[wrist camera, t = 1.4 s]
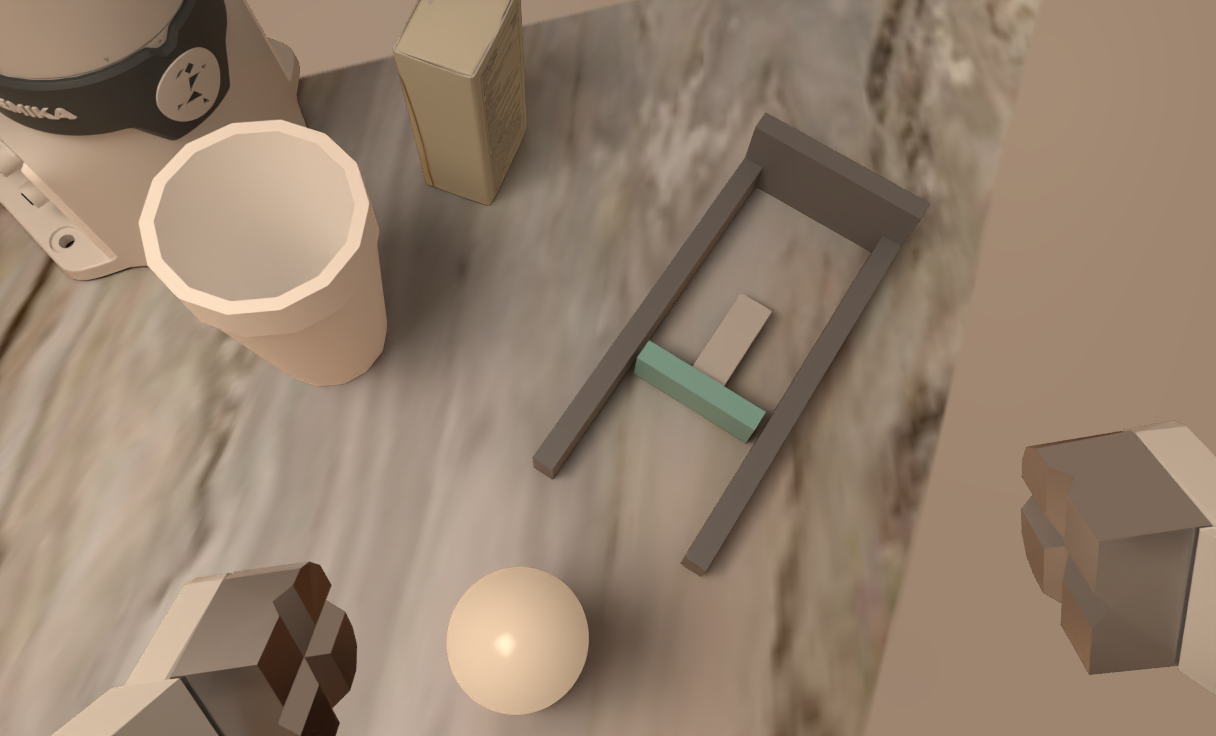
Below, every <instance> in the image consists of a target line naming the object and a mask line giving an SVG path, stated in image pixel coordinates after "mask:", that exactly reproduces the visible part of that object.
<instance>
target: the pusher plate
mask: <svg viewBox="0 0 1216 736" xmlns="http://www.w3.org/2000/svg"><path fill="white" fill-rule="evenodd" d="M771 312H772V311H771V310H769V309H767V308H766V307H764V306H762V305H761V304H759V303H757V302H756V301H754V300H752V299H751V298H749V297H747V296H746V295H744V294H742V293H741V294H740V295H739V297H738V298H737V300H736V301H735V303H734V304H733V306H732V307H731V309H730V310H729V312H728V313H727V315H726V316H725V318H724V319H723V321H722V322H721V324H720V326H719V327H718V329H717V330H716V332H715V333H714V335H713V336H712V338H711V339H710V341H709V342H708V344H707V345H706V347H705V348H704V350H703V351H702V353H701V354H700V356H699V357H698V359H697V360H696V362H695V363H694V365H693V366H690V365H689V364H687V363H685V362H684V361H682V360H680V359H679V358H677V357H676V356H674V355H672V354H671V353H669V352H667V351H666V350H664V349H663V348H661V347H659V346H658V345H656V344H654V343H653V342H651V341H650V340H649V341H648V343H647V344H646V346H645V347H644V348H643V350H642V351H641V353H640V354H639V356H638V357H637V361H636V365H635V370H634V374H635V375H637V376H639V377H640V378H642V379H643V380H645V381H647V382H648V383H650V384H651V385H653V386H655V387H656V388H658V389H660V390H661V391H663V392H664V393H666V394H668V395H669V396H671V397H672V398H674V399H676V400H677V401H679V402H680V403H682V404H684V405H685V406H687V407H688V408H690V409H692V410H693V411H695V412H696V413H698V414H700V415H701V416H703V417H704V418H706V419H708V420H709V421H711V422H712V423H714V424H716V425H717V426H719V427H720V428H722V429H724V430H725V431H727V432H728V433H730V434H732V435H733V436H735V437H736V438H738V439H740V440H741V441H743V442H745V443H746V442H747V440H748V439H749V438H750V436H751V435H752V433H753V432H754V430H755V429H756V427H757V426H758V424H759V422H760V421H761V419H762V417H763V416H764V414H765V413H766V412H765V411H763V410H762V409H760V408H759V407H757V406H755V405H754V404H752V403H750V402H749V401H747V400H746V399H744V398H742V397H741V396H739V395H737V394H736V393H734V392H733V391H731V390H729V389H728V388H726V387H725V385H726V383H727V382H728V380H729V379H730V377H731V376H732V374H733V373H734V371H735V369H736V368H737V366H738V365H739V363H740V362H741V360H742V359H743V357H744V355H745V354H746V352H747V351H748V349H749V348H750V346H751V345H752V343H753V342H754V340H755V338H756V337H757V335H758V334H759V332H760V331H761V329H762V328H763V326H764V324H765V323H766V321H767V320H768V318H769V316H770V314H771Z"/></svg>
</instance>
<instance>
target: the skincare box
mask: <svg viewBox="0 0 1216 736" xmlns="http://www.w3.org/2000/svg"><path fill="white" fill-rule="evenodd" d="M393 53H394V57H395V61H396V65H397V69H398V73H399V77H400V81H401V85H402V90H403V93H404V97H405V101H406V105H407V109H408V113H409V117H410V121H411V125H412V130H413V133H414V137H415V141H416V145H417V149H418V153H419V157H420V161H421V165H422V170H423V173H424V177H425V181H426V183H427V184H428V185H431V186H434V187H436V188H439V189H442V190H444V191H447V192H450V193H453V194H456V195H458V196H461V197H464V198H467V199H470V200H473V201H475V202H478V203H481V204H484V205H490V204H491V203H492V201H493V199H494V197H495V195H496V193H497V191H498V189H499V188H500V186H501V183H502V181H503V179H504V177H505V175H506V173H507V171H508V169H509V167H510V165H511V163H512V160H513V158H514V156H515V154H516V152H517V150H518V148H519V145H520V143H521V141H522V138H523V136H524V134H525V132H526V129H527V118H526V98H525V76H524V57H523V36H522V17H521V0H418V1H417V3H416V5H415V7H414V9H413V10H412V12H411V14H410V16H409V18H408V20H407V22H406V23H405V26H404V28H403V30H402V31H401V33H400V35H399V37H398V39H397V41H396V43H395V46H394V47H393Z"/></svg>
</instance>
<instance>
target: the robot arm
mask: <svg viewBox="0 0 1216 736" xmlns="http://www.w3.org/2000/svg"><path fill="white" fill-rule="evenodd" d="M299 74H300V67H299V62H298V60H297V58H296V56H295V55H294V53H293V51H292V50H291V48H289V47H288V46H287V45H285V44H283V43H281V42H278V41H275V40H273V39H270V38H267V37H266V35H265V33H264V31H263V30H262V28H261V26H260V24H259V23H258V21H257V19H256V17H255V16H254V14H253V12H252V11H251V9H250V7H249V5H248V4H247V2H246V0H0V203H1V204H2V205H3V206H4V207H5V208H6V209H7V211H8V212H9V213H10V214H11V215H12V216H13V217H14V218H15V219H16V220H17V221H18V223H19V224H20V225H21V226H22V227H23V228H24V229H25V230H26V231H27V232H28V233H29V235H30V236H31V237H32V238H33V239H34V240H35V241H36V242H37V243H38V244H39V245H40V247H41V248H42V249H43V250H44V251H45V252H46V253H47V254H48V255H49V256H50V257H51V259H52V260H53V261H54V262H55V263H56V264H57V265H58V266H59V267H60V268H61V270H62V271H63V272H64V273H65V274H66V275H68V276H69V277H71V278H72V279H75V280H90V279H95V278H98V277H102V276H105V275H108V274H111V273H114V272H117V271H120V270H123V269H126V268H129V267H136V266H148V265H147V261H146V256H145V251H144V247H143V242H142V237H141V232H140V227H139V223H138V222H139V219H140V216H141V213H142V210H143V207H144V204H145V201H146V198H147V195H148V192H149V189H150V186H151V183H152V180H153V178H154V177H155V176H156V175H157V174H158V173H159V172H160V171H161V170H162V169H163V168H164V167H165V166H166V165H167V164H168V163H169V162H170V161H171V160H172V159H173V157H174V156H175V155H176V154H177V153H178V152H179V151H180V150H181V149H182V148H183V147H184V146H185V145H186V144H188V143H190V142H192V141H194V140H196V139H199V138H201V137H203V136H205V135H207V134H209V133H212V132H214V131H216V130H218V129H220V128H223V127H225V126H227V125H229V124H231V123H242V122H256V121H269V120H284V121H287V122H290V123H293V124H296V125H300V126H303V127H306V124H305V121H304V118H303V116H302V113H301V111H300V108H299V105H298V101H297V89H298V83H299ZM306 128H307V127H306ZM71 241H75V242H74V244H73V245H72V246H71V247H69V248H65V247H66V245H67V244H68V243H69V242H71ZM1022 478H1023V480H1024V481H1025V483H1026V485H1027V486H1028V488H1029V490H1030V491H1031V493H1032V494H1033V495H1032V496H1031V498H1030V499H1029V500H1028V501H1027V502H1026V504H1025V505H1024V506H1023V507H1022V509H1021V517H1022V518H1021V520H1022V536H1023V540H1024V546H1025V551H1026V556H1027V559H1028V561H1029V564H1030V567H1031V569H1032V572H1033V574H1034V577H1035V578H1036V580H1037V582H1038V584H1039V586H1040V588H1041V590H1042V592H1043V593H1044V594H1046V595H1048V596H1049V597H1051V598H1053V599H1055V600H1057V601H1058V602H1060V603H1062V608H1061V626H1062V628H1063V630H1064V631H1065V633H1066V635H1067V636H1068V638H1069V640H1070V642H1071V643H1072V645H1073V647H1074V649H1075V651H1076V652H1077V654H1078V656H1079V658H1080V660H1081V661H1082V663H1083V665H1084V667H1085V668H1086V670H1087V672H1088V674H1089V675H1092V674H1102V673H1110V672H1121V671H1131V670H1140V669H1149V668H1160V667H1170V666H1179V668H1178V670H1179V671H1181V672H1182V673H1184V674H1185V675H1187V676H1188V677H1190V678H1191V679H1192V680H1194V681H1196V682H1197V683H1198V684H1200V685H1201V686H1203V687H1204V688H1206V689H1207V690H1208V691H1210V692H1211V693H1213V694H1214V695H1216V456H1215V455H1214V454H1213V453H1212V452H1211V451H1210V450H1209V449H1208V448H1207V447H1206V446H1205V445H1204V444H1203V443H1202V442H1201V441H1200V440H1199V439H1198V438H1197V437H1196V436H1195V435H1194V434H1193V433H1192V432H1191V431H1190V430H1189V428H1188V427H1187V426H1185V425H1184V424H1182V423H1180V422H1177V421H1174V420H1172V421H1168V422H1162V423H1156V424H1151V425H1145V426H1140V427H1134V428H1129V429H1124V430H1123V431H1120V432H1113V433H1107V434H1101V435H1095V436H1089V437H1083V438H1077V439H1071V440H1064V441H1058V442H1053V443H1047V444H1041V445H1034V446H1029V447H1026V449H1025V452H1024V455H1023V459H1022ZM330 588H331V583H330V581H329V580H328V578H327V576H326V574H325V573H324V571H323V569H322V567H321V566H320V565H319V564H315V563H312V562H303V563H296V564H288V565H281V566H274V567H266V568H259V569H252V570H244V571H237V572H233V573H227V574H220V575H213V576H206V577H199V578H195V579H194V580H192V581H190V582H189V583H187V584H185V585H184V587H183V588H182V590H181V592H180V593H179V595H178V597H177V598H176V600H175V602H174V603H173V605H172V607H171V608H170V610H169V612H168V613H167V615H166V617H165V618H164V620H163V622H162V623H161V625H160V627H159V628H158V630H157V632H156V633H155V635H154V637H153V638H152V640H151V642H150V643H149V645H148V647H147V649H146V650H145V652H144V654H143V655H142V657H141V659H140V660H139V662H138V664H137V665H136V667H135V669H134V670H133V672H132V674H131V675H130V677H129V679H128V680H127V682H126V684H125V685H124V686H121V687H115V688H111V689H110V690H108V691H107V692H106V693H105V694H103V695H102V696H101V697H100V698H98V699H97V700H96V701H95V702H93V703H92V704H91V705H89V706H88V707H87V708H86V709H84V710H83V711H82V712H81V713H79V714H78V715H77V716H75V717H74V718H73V719H72V720H70V721H69V722H68V723H67V724H65V725H64V726H63V727H62V728H60V729H59V730H58V731H56V732H55V733H54V734H53V735H51V736H336V733H337V730H338V727H339V724H340V722H339V720H338V718H337V716H336V714H335V712H334V710H333V707H334V706H335V705H336V704H337V703H338V702H339V701H340V700H341V699H342V698H343V697H344V696H345V695H346V694H347V693H348V692H349V691H350V689H351V686H352V683H353V679H354V676H355V673H356V664H357V643H356V639H355V635H354V631H353V627H352V625H351V622H350V620H349V618H348V616H347V614H346V612H345V611H343V610H342V609H340V608H338V607H337V606H335V605H333V604H332V603H330V602H329V601H327V600H326V599H327V596H328V594H329V591H330Z"/></svg>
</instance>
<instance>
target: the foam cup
mask: <svg viewBox="0 0 1216 736" xmlns="http://www.w3.org/2000/svg"><path fill="white" fill-rule="evenodd" d="M138 223H139V227H140V232H141V237H142V242H143V247H144V251H145V256H146V261H147V265H148V266H149V268H150V269H151V270H152V271H153V272H154V273H155V274H156V275H157V276H158V277H159V278H160V279H161V280H162V281H163V282H164V284H165V285H166V286H167V287H168V288H169V289H170V290H171V291H172V292H173V293H174V294H175V295H176V296H177V297H178V298H179V299H180V301H181V302H182V303H183V304H184V305H185V306H186V307H187V308H188V309H189V310H190V311H191V312H192V313H193V314H194V315H195V316H196V318H197V319H198V320H199V321H200V322H202V323H205V324H208V325H211V326H214V327H217V328H219V329H220V330H222V331H223V332H225V333H226V334H228V335H229V336H231V337H232V338H234V339H235V340H237V341H238V342H240V343H241V344H243V345H244V346H246V347H247V348H248V349H250V350H251V351H253V352H254V353H256V354H257V355H259V356H260V357H262V358H263V359H265V360H266V361H268V362H269V363H271V364H272V365H274V366H275V367H277V368H278V369H280V370H281V371H283V372H284V373H286V374H287V375H289V376H291V377H293V378H294V379H297V380H300V381H302V382H305V383H308V384H311V385H314V386H317V387H319V386H330V385H340V384H345V383H347V382H349V381H350V380H352V379H354V378H356V377H358V376H360V375H361V374H363V373H365V372H367V371H368V370H369V368H370V367H371V366H372V365H373V363H374V362H375V361H376V359H377V358H378V357H379V355H380V354H381V353H382V352H383V348H384V343H385V338H386V333H387V318H386V310H385V302H384V294H383V287H382V279H381V271H380V263H379V255H378V248H377V242H378V237H379V232H380V230H379V227H378V223H377V220H376V217H375V214H374V211H373V207H372V204H371V201H370V198H369V195H368V192H367V189H366V186H365V184H364V181H363V178H362V176H361V173H360V170H359V168H358V165H357V163H356V162H355V161H354V160H353V159H352V158H351V157H350V156H349V155H347V154H346V153H345V152H344V151H343V150H342V149H341V148H340V147H339V146H338V145H337V144H336V143H335V142H334V141H333V140H332V139H330V138H329V137H328V136H327V135H326V134H325V133H321V132H318V131H315V130H312V129H309V128H306V127H303V126H300V125H296V124H293V123H290V122H287V121H284V120H269V121H256V122H242V123H231V124H229V125H227V126H225V127H223V128H220V129H218V130H216V131H214V132H212V133H209V134H207V135H205V136H203V137H201V138H199V139H196V140H194V141H192V142H190V143H188V144H186V145H185V146H184V147H183V148H182V149H181V150H180V151H179V152H178V153H177V154H176V155H175V156H174V157H173V159H172V160H171V161H170V162H169V163H168V164H167V165H166V166H165V167H164V168H163V169H162V170H161V171H160V172H159V173H158V174H157V175H156V176H155V177H154V178H153V180H152V183H151V186H150V189H149V192H148V195H147V198H146V201H145V204H144V207H143V210H142V213H141V216H140V219H139V222H138Z"/></svg>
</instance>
